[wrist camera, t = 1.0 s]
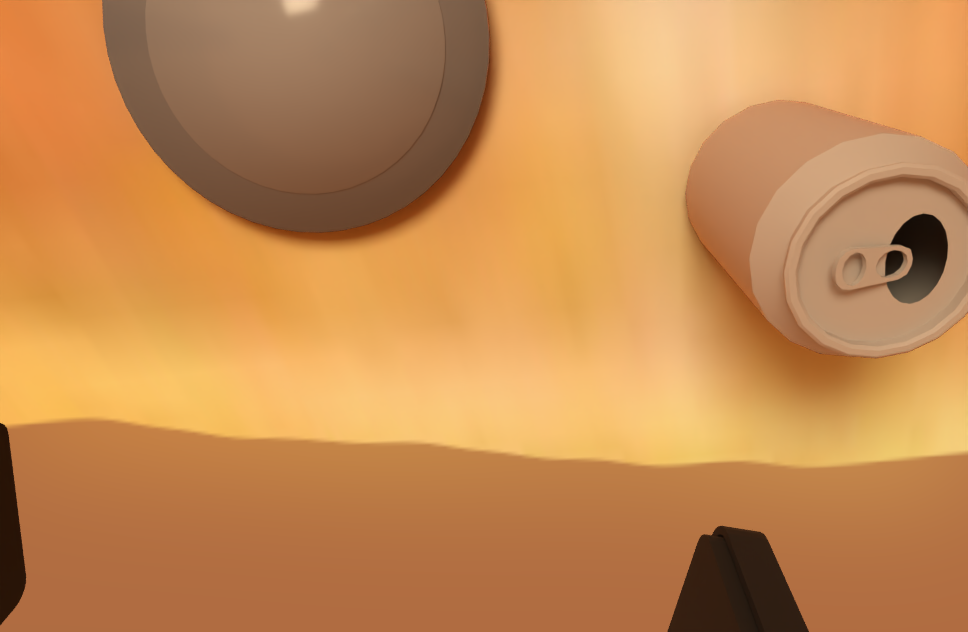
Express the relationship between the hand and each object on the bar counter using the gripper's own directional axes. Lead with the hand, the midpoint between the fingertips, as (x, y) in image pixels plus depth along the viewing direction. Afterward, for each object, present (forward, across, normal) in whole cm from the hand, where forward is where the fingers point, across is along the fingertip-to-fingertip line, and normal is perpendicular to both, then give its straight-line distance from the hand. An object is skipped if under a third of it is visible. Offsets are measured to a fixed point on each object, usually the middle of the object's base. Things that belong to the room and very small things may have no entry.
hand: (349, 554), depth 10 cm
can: (+26, -13, -1) cm, 29 cm away
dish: (+25, +8, -4) cm, 27 cm away
